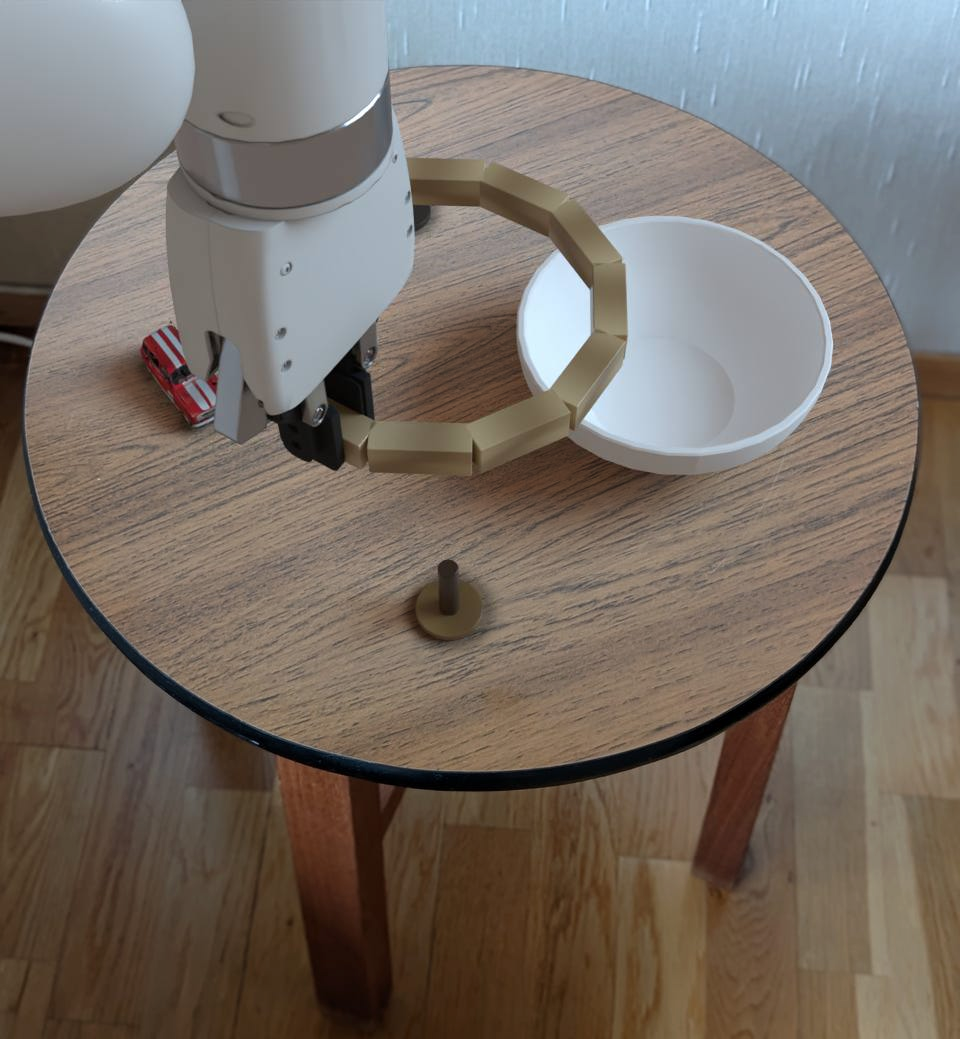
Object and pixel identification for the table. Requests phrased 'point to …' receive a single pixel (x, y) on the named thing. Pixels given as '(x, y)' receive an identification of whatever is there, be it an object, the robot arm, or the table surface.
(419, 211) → the green peg
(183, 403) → the toy car
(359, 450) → the ring
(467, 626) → the walnut peg
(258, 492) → the table surface
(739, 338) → the bowl
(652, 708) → the table surface
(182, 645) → the table surface
